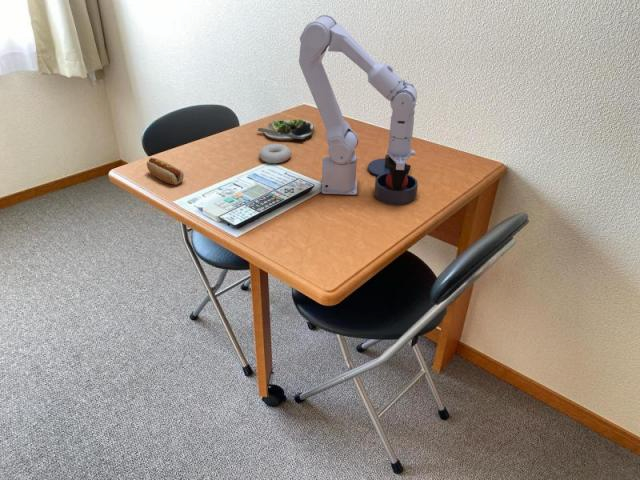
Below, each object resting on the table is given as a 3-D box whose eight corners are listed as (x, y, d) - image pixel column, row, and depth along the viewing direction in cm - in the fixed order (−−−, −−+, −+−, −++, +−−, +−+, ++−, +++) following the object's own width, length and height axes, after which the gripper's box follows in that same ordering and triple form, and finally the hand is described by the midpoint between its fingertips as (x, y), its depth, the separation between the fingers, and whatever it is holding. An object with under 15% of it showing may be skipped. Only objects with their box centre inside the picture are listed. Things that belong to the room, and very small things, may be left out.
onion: (382, 195, 129) (384, 168, 124) (387, 186, 133) (390, 160, 129) (403, 199, 127) (406, 172, 123) (408, 190, 132) (411, 163, 127)
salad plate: (254, 143, 160) (252, 130, 158) (261, 123, 175) (260, 111, 172) (311, 144, 159) (311, 130, 157) (314, 124, 174) (314, 112, 172)
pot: (374, 203, 126) (375, 190, 124) (374, 184, 136) (375, 171, 133) (417, 205, 125) (419, 192, 123) (414, 185, 135) (415, 172, 132)
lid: (367, 178, 138) (368, 164, 136) (367, 160, 148) (368, 146, 146) (410, 180, 137) (411, 165, 135) (407, 162, 148) (409, 148, 145)
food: (144, 174, 141) (141, 159, 138) (160, 168, 144) (157, 153, 141) (172, 189, 133) (169, 173, 130) (188, 182, 137) (186, 166, 134)
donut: (255, 164, 147) (286, 166, 145) (254, 153, 145) (286, 155, 143) (265, 151, 155) (294, 153, 153) (264, 141, 153) (294, 142, 151)
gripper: (419, 146, 115) (413, 196, 122) (414, 124, 126) (409, 171, 134) (389, 145, 115) (385, 195, 123) (387, 124, 127) (384, 170, 135)
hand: (396, 182), depth 128 cm, fingers closed on onion, 6 cm apart
